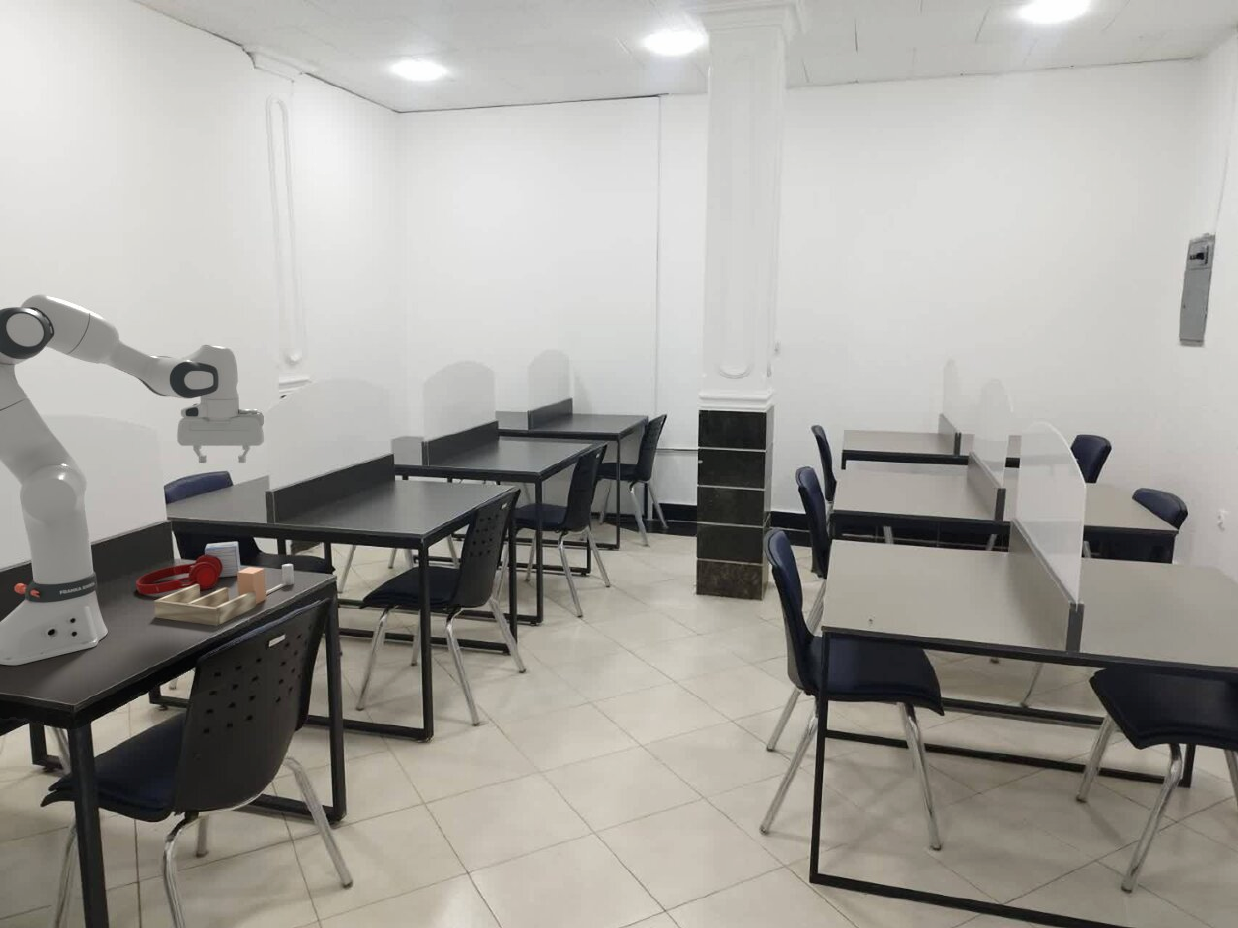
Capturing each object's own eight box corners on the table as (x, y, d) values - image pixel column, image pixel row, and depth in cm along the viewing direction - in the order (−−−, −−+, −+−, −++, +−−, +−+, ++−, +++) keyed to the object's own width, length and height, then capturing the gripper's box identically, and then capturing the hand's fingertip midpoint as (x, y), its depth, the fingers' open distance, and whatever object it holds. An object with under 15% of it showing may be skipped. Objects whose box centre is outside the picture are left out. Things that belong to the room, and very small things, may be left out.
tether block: (254, 604, 214) (252, 573, 213) (239, 603, 215) (236, 572, 214) (299, 582, 232) (297, 553, 230) (284, 581, 233) (282, 552, 231)
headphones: (226, 573, 237) (147, 589, 232) (221, 548, 236) (140, 564, 231) (219, 590, 224) (134, 607, 218) (213, 564, 222) (127, 581, 217)
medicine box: (241, 570, 240) (238, 540, 238) (239, 576, 236) (236, 545, 234) (209, 573, 238) (206, 543, 236) (207, 579, 233) (204, 548, 231)
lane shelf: (216, 625, 200) (215, 609, 200) (155, 617, 205) (153, 600, 204) (256, 606, 213) (255, 591, 212) (197, 599, 218) (196, 583, 217)
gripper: (265, 408, 227) (267, 460, 229) (180, 407, 222) (183, 460, 225) (261, 411, 221) (263, 464, 223) (173, 410, 216) (176, 465, 219)
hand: (222, 462), depth 224 cm, fingers open, 8 cm apart
